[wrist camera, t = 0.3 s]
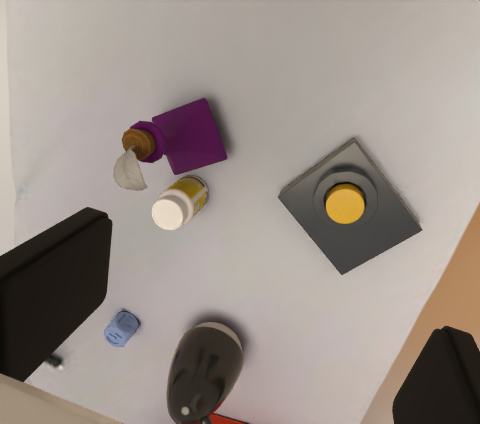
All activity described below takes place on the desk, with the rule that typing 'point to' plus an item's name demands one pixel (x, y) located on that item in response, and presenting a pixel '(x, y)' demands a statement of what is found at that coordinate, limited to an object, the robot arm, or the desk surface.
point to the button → (345, 203)
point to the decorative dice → (121, 329)
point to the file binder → (222, 420)
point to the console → (371, 221)
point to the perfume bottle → (170, 143)
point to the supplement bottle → (180, 203)
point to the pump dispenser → (203, 372)
